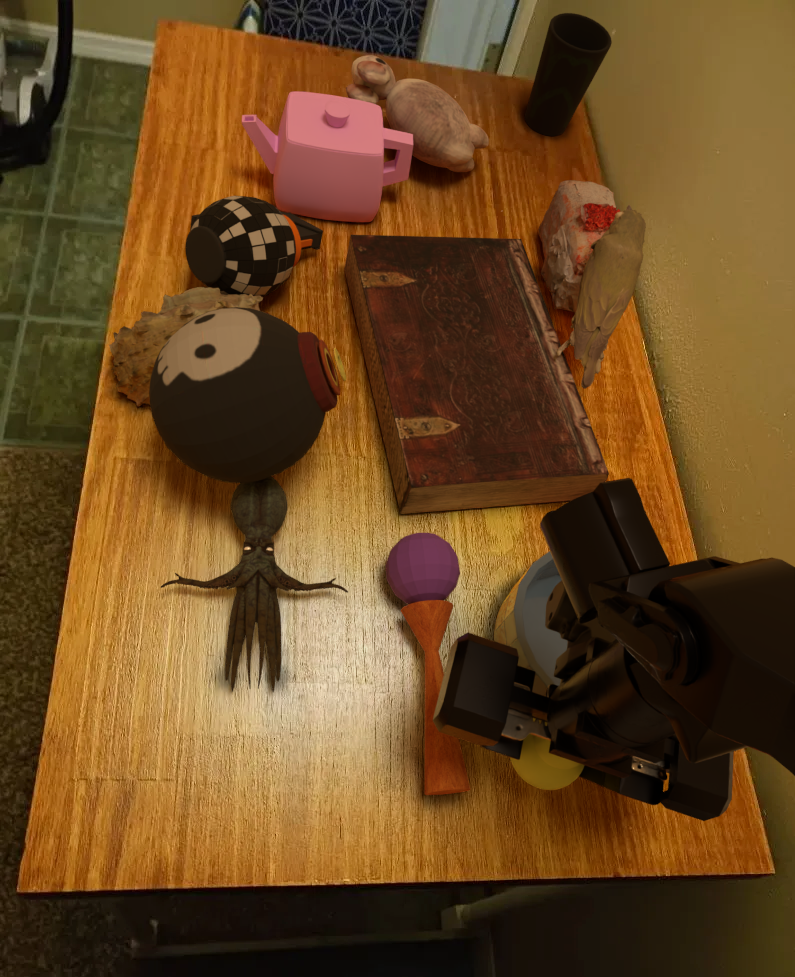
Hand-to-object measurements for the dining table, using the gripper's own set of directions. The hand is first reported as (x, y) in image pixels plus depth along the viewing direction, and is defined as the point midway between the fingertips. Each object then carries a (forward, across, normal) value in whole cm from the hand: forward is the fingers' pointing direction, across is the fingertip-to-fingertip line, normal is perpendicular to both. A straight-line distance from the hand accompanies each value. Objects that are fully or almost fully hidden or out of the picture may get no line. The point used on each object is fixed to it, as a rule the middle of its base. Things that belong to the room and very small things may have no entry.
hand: (539, 755), depth 59 cm
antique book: (+4, +13, -35) cm, 37 cm away
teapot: (+4, +34, -54) cm, 64 cm away
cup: (+5, +12, -81) cm, 82 cm away
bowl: (+5, -3, -11) cm, 12 cm away
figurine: (+4, +24, -7) cm, 25 cm away
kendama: (+5, +9, -5) cm, 12 cm away
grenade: (-2, +40, -33) cm, 52 cm away
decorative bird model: (-2, +3, -45) cm, 45 cm away
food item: (+4, +5, -54) cm, 54 cm away
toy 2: (+3, +20, -69) cm, 72 cm away
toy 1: (-2, +35, -15) cm, 38 cm away
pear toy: (+1, 0, 0) cm, 1 cm away
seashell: (+5, +37, -25) cm, 45 cm away
